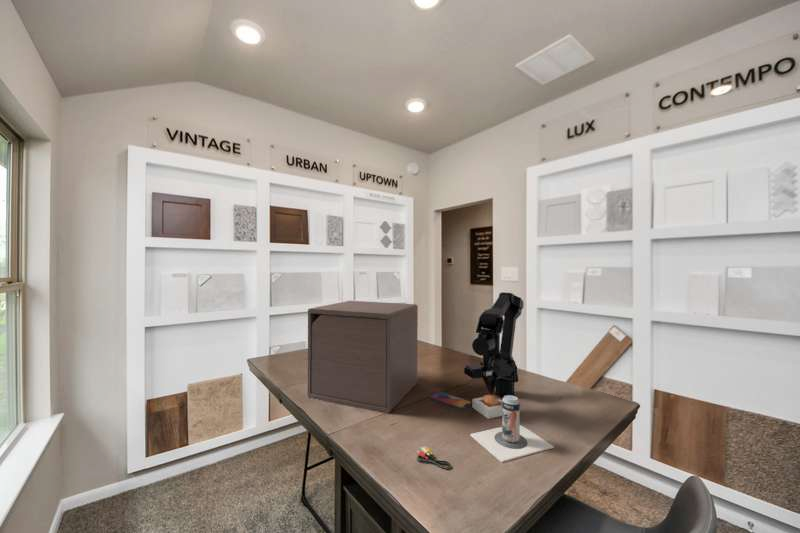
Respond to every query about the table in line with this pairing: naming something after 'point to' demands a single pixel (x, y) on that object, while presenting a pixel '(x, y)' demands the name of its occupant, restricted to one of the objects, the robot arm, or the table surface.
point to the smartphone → (451, 400)
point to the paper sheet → (510, 450)
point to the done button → (490, 400)
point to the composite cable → (431, 458)
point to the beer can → (510, 418)
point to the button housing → (487, 408)
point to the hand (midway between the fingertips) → (490, 393)
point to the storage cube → (362, 353)
